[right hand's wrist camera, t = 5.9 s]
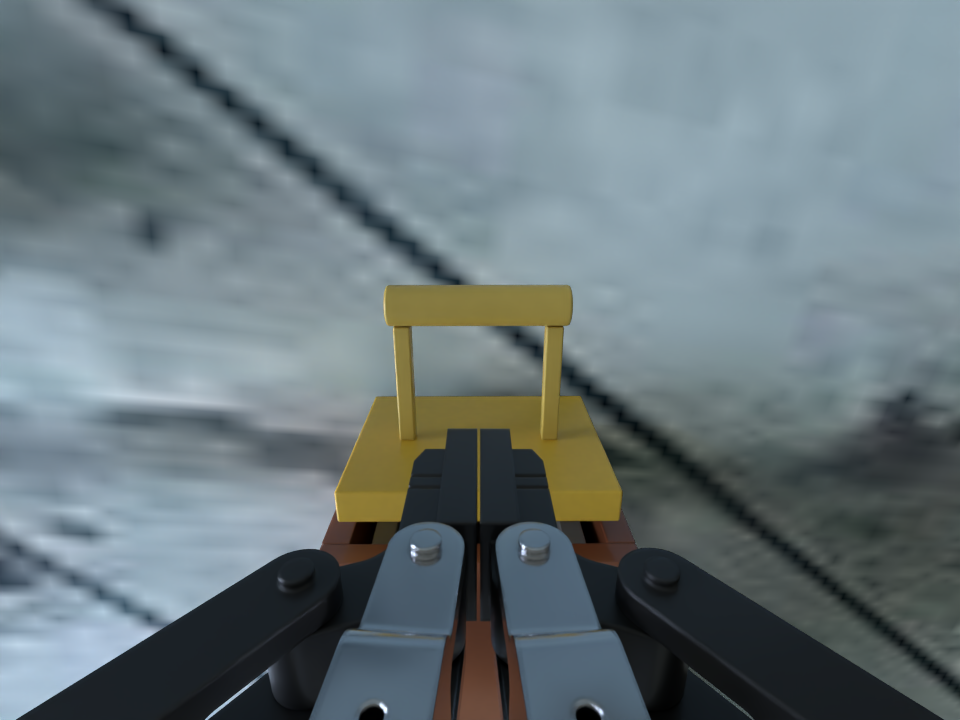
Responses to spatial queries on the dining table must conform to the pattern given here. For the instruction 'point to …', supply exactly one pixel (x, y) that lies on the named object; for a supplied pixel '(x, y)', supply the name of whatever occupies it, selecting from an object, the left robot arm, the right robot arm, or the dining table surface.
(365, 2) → the dining table surface
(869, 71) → the dining table surface
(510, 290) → the drawer
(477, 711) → the cabinet
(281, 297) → the dining table surface
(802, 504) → the dining table surface
